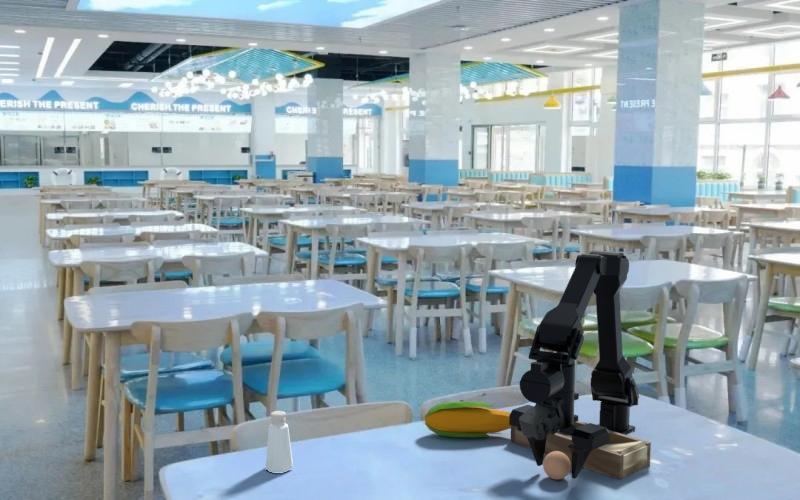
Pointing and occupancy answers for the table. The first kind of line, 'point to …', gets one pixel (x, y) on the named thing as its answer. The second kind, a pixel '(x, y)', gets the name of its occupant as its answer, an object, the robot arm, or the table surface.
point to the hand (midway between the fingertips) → (556, 471)
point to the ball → (556, 465)
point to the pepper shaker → (278, 444)
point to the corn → (466, 419)
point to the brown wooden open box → (599, 452)
